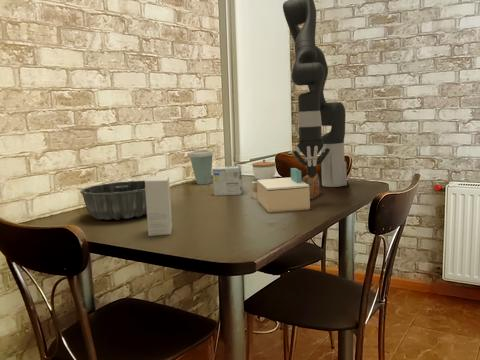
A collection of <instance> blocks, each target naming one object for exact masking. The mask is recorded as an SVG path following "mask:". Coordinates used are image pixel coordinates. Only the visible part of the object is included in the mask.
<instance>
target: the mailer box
mask: <svg viewBox="0 0 480 360" xmlns="http://www.w3.org/2000/svg"><path fill="white" fill-rule="evenodd" d="M257 193H258V199H257V202H258V204H259V205H260V206H261V207H262V208H263V209H264V210H265V211H266V212H267V214H275V213H283V212H285V213H286V212H295V211H297V212H298V211H307V210H311V199H310V192H309V187H303V188H290V189H278V190H266V189H265V188H264V187H263V186H261V185H260V184H259V183H258V182H257Z"/></svg>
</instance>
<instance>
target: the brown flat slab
mask: <svg viewBox="0 0 480 360" xmlns="http://www.w3.org/2000/svg"><path fill="white" fill-rule="evenodd" d="M301 179H302V181H303V182H304V183H306V184H308V185H309V192H310V200H314V199H315V198H316V197H318V196H319V195H320V194H321V193H320V192H321V179H320V175H319V173H318V172H316V176H315V177H314V178H309V176H307V175H305V176H303V177H302V178H301Z"/></svg>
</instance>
